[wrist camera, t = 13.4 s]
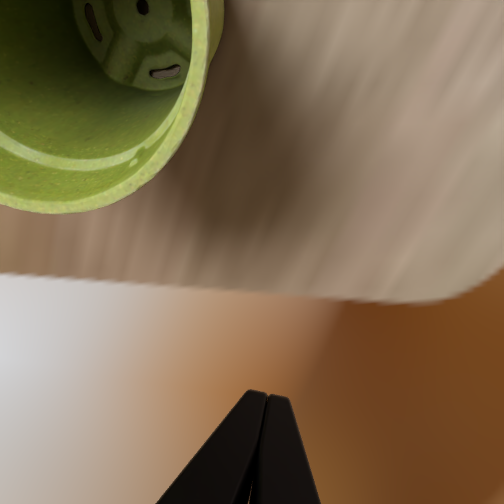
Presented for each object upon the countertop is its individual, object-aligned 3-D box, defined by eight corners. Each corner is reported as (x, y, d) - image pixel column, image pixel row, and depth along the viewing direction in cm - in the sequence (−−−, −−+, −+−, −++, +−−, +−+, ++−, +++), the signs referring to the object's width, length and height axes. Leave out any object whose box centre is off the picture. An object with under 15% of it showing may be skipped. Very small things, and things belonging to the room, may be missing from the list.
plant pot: (295, 104, 17) (258, 179, 10) (95, 152, 20) (-51, 240, 12) (230, -206, 13) (85, -476, 6) (-11, -94, 16) (-323, -180, 8)
